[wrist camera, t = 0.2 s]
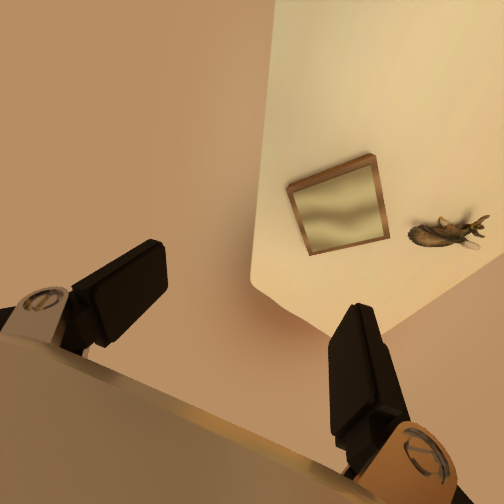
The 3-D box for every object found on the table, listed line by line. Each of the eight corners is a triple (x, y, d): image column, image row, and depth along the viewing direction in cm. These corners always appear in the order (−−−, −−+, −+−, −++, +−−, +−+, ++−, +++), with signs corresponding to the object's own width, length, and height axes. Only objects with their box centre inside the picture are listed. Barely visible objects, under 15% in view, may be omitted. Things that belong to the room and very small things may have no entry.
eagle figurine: (472, 197, 34) (411, 215, 37) (506, 230, 30) (435, 248, 33) (453, 224, 40) (402, 238, 43) (480, 254, 36) (422, 268, 39)
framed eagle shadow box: (289, 184, 43) (285, 189, 38) (370, 153, 36) (376, 155, 32) (310, 246, 48) (309, 257, 44) (384, 228, 42) (391, 239, 37)
